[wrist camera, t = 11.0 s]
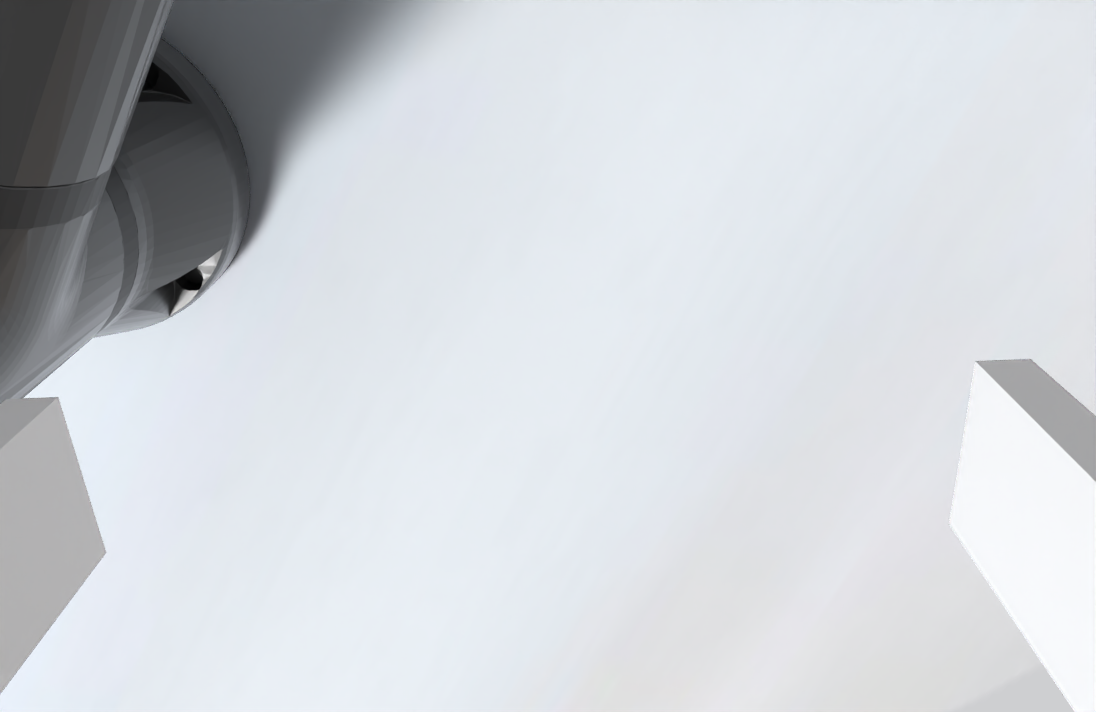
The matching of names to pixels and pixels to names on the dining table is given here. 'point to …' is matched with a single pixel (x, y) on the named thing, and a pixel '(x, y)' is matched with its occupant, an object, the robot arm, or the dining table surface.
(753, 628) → the dining table surface
